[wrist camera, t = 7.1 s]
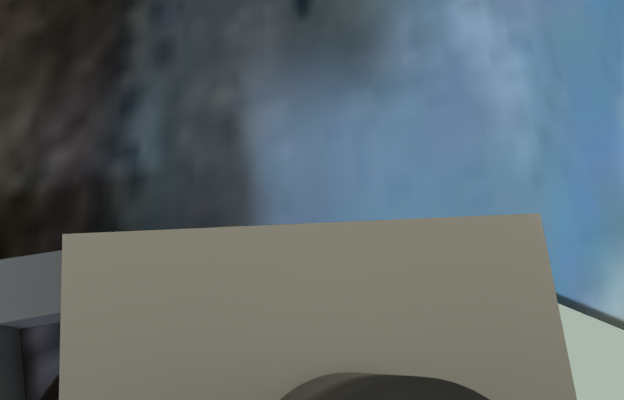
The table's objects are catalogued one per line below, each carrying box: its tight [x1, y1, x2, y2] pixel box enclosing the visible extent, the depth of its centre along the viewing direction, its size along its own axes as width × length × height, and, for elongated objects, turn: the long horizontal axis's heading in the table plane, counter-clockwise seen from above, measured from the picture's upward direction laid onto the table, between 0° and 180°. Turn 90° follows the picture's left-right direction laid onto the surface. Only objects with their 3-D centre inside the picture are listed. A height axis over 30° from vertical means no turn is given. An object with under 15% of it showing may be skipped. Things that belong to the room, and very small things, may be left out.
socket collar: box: [0, 224, 238, 400], centre depth 19 cm, size 10×10×3 cm
